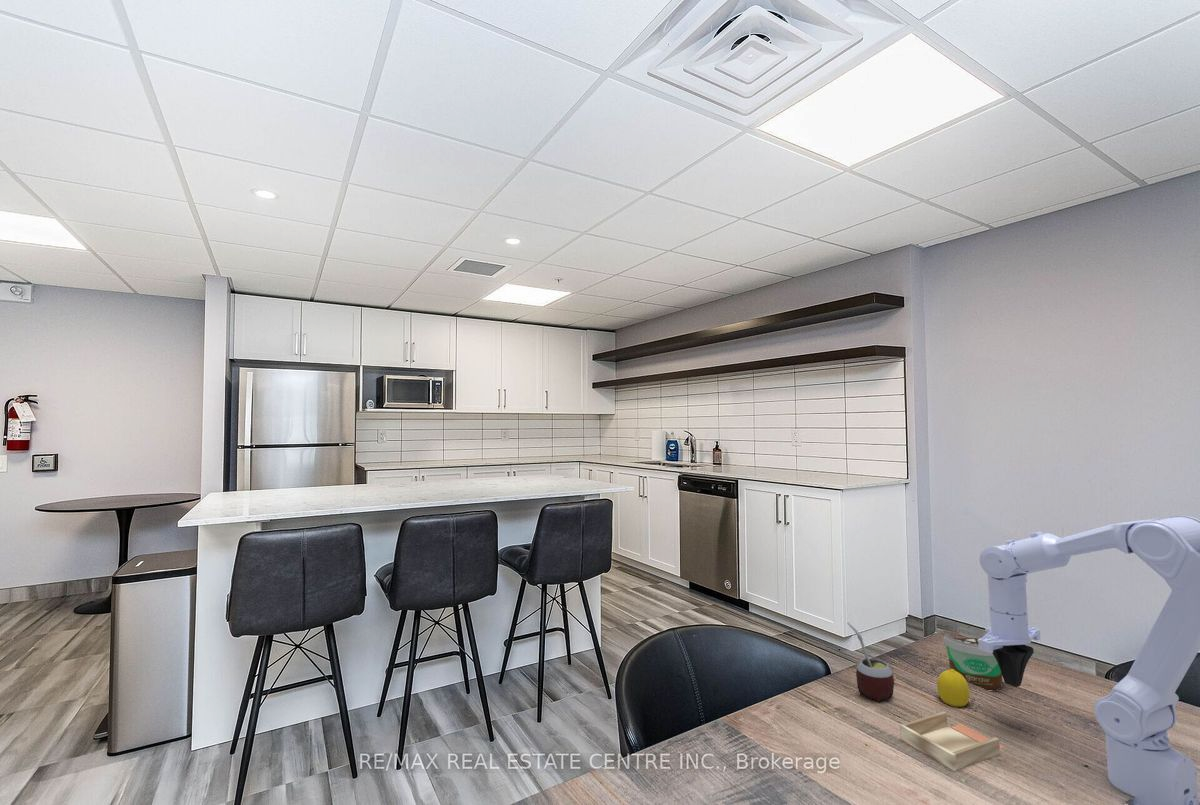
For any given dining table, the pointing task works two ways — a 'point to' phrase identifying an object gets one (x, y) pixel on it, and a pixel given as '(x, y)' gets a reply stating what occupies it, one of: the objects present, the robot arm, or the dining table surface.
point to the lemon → (953, 688)
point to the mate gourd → (873, 676)
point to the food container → (973, 662)
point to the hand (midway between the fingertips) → (1012, 684)
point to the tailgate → (972, 733)
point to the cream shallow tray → (946, 742)
